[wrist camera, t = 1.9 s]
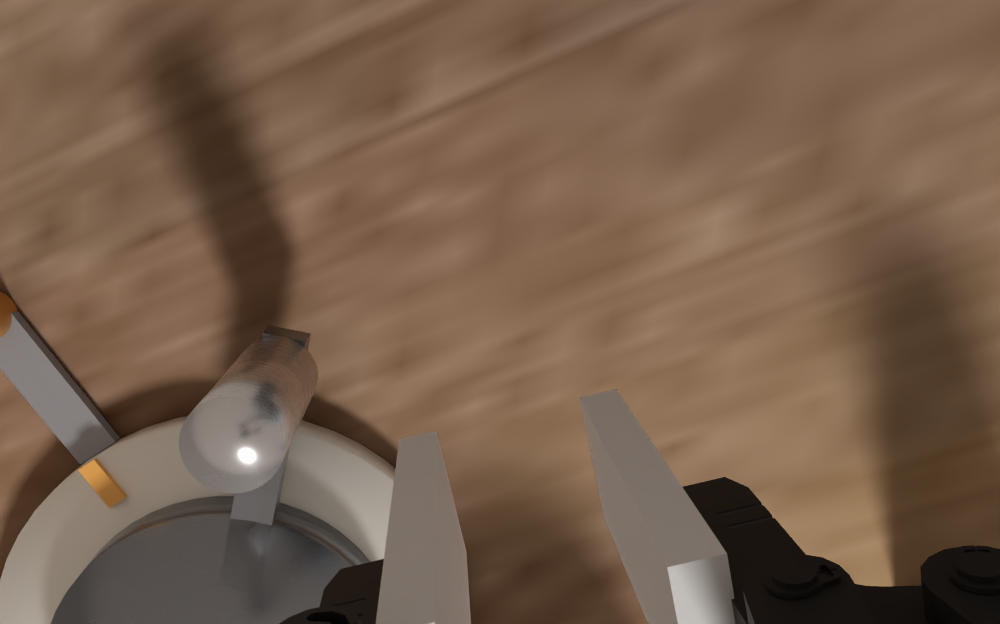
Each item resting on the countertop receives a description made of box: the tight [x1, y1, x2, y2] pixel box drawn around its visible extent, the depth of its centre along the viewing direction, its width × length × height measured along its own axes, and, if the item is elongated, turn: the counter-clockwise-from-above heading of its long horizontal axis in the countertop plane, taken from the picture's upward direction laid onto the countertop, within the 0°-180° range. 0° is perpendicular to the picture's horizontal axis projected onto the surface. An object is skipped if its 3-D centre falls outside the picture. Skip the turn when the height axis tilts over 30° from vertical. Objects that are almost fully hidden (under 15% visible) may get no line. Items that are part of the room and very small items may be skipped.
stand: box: [0, 291, 395, 624], centre depth 34 cm, size 20×27×6 cm
